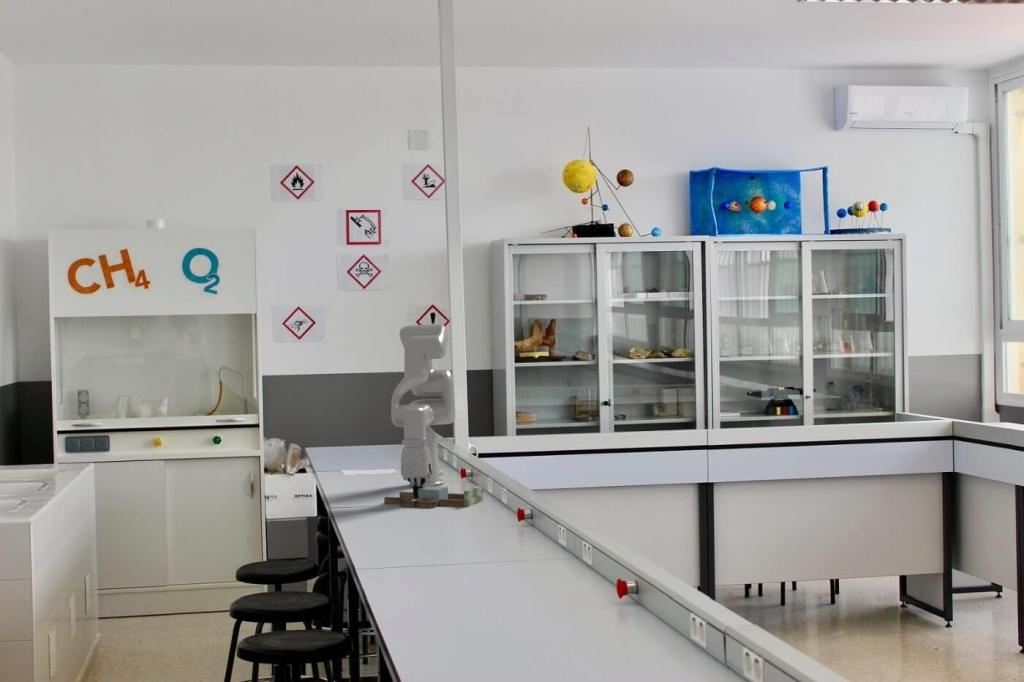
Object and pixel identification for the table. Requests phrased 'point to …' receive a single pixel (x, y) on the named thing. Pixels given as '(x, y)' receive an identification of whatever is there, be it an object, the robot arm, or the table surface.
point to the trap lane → (453, 499)
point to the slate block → (433, 493)
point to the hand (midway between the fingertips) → (418, 497)
